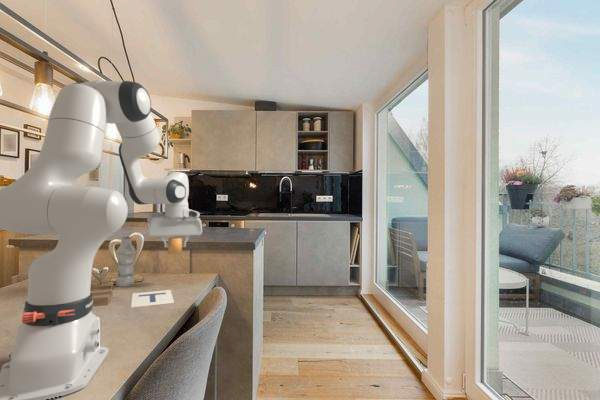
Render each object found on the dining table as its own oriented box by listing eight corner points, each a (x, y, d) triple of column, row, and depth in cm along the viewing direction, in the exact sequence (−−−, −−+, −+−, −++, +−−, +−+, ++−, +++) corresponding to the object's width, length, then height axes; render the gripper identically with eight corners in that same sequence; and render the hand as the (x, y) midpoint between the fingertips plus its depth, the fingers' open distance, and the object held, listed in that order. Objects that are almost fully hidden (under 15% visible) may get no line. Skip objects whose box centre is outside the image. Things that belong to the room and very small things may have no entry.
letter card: (174, 305, 107) (174, 302, 107) (130, 310, 101) (130, 307, 101) (170, 292, 121) (170, 289, 121) (132, 296, 115) (132, 293, 115)
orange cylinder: (182, 253, 124) (182, 238, 124) (168, 254, 122) (169, 238, 122) (181, 251, 128) (181, 237, 128) (167, 252, 126) (168, 237, 126)
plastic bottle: (126, 290, 122) (128, 239, 122) (111, 288, 123) (113, 238, 123) (138, 286, 128) (139, 237, 128) (123, 284, 129) (125, 236, 129)
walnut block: (107, 309, 102) (108, 297, 102) (78, 311, 99) (78, 299, 99) (112, 300, 111) (113, 289, 111) (85, 302, 108) (86, 291, 108)
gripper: (147, 212, 118) (146, 249, 118) (203, 213, 127) (202, 247, 127) (147, 211, 123) (146, 246, 123) (201, 212, 132) (200, 245, 132)
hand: (175, 247), depth 125 cm, fingers closed on orange cylinder, 5 cm apart
